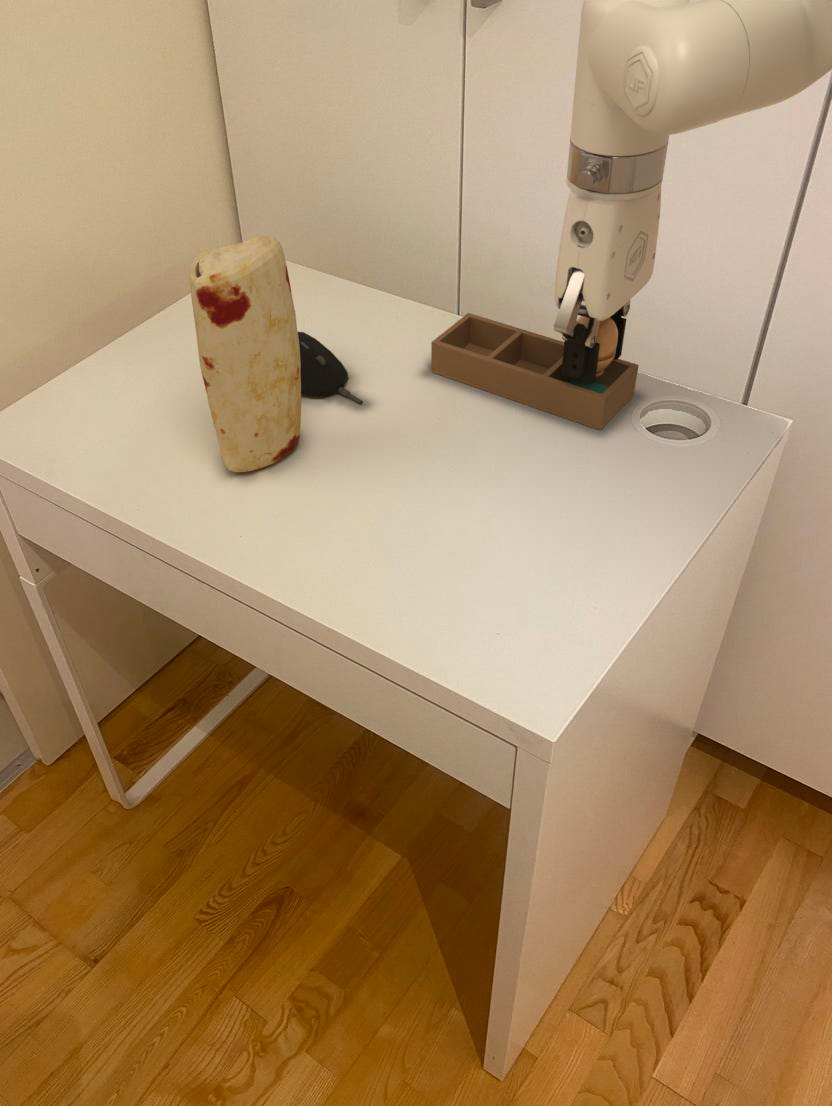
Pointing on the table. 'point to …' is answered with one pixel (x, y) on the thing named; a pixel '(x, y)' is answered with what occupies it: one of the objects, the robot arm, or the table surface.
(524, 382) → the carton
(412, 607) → the table surface
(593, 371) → the robot arm
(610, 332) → the egg
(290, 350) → the food model
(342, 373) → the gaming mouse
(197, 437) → the table surface
